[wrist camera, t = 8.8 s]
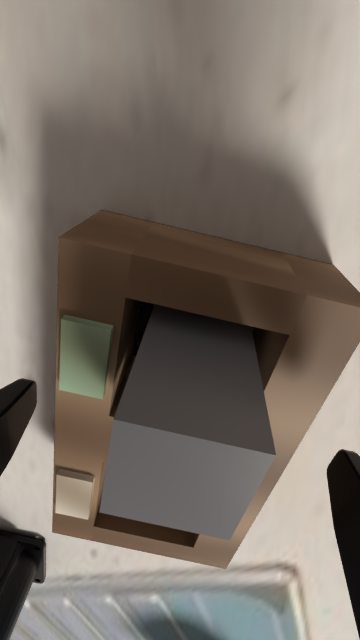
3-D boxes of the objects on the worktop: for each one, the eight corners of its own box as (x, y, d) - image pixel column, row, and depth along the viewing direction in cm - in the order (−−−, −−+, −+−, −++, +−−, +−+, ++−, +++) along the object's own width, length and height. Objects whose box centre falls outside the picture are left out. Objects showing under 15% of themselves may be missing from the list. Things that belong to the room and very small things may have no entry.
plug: (222, 363, 16) (229, 540, 9) (150, 346, 16) (99, 512, 9) (245, 297, 14) (276, 455, 7) (163, 278, 14) (113, 419, 7)
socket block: (223, 496, 21) (226, 575, 17) (79, 465, 21) (49, 538, 17) (333, 264, 13) (381, 316, 9) (101, 210, 13) (54, 240, 9)
